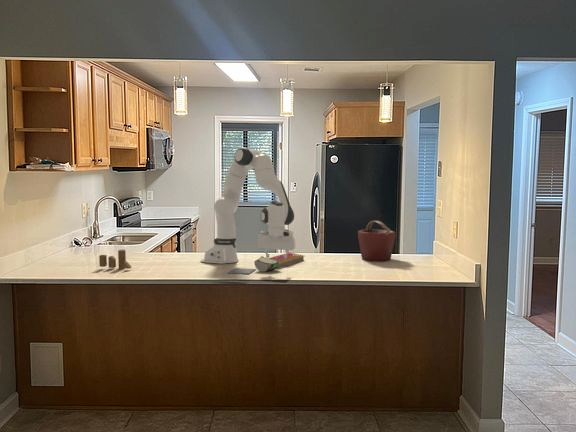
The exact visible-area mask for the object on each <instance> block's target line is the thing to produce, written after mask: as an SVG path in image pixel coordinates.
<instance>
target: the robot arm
mask: <svg viewBox="0 0 576 432" xmlns="http://www.w3.org/2000/svg"><path fill="white" fill-rule="evenodd" d="M272 161H273V160H272V159H271V156H269V155H267V154H266V153H264V152H261V151H258V150H257V149H252V148H248V147H239V148H238V149H236V151H235V153H234V159H233V161H232V162H231V164H230V166H229V168H228V171H227V173H226V174H227V175H226V177H225V180H224V183H223V189H222V196H221V197H219V198H218V199H216V201H215V202H214V205H213V210H214V211H215V212H214V213H215V220H216V230H217V231H216V238H215V239H213V243H214V244H212V245H211V246H210V247H209V248H208V249H206V250H205V251H204V252H205V253H204V257H202V258H201V259H200V263H206V264H207V263H208V264H220V265H222V264H233V263H237V262H239V259H238V253H237V245H238V243H237V242H238V241H237V236H236V235H237V234H236V233H237V230H236V227H237V226H236V220H235V215H234V213H236V212H237V210H238V207H239V204H240V199H241V194H242V190H243V187H244V185H245V184H244V183H245V181H246V178H247V174H248V172H249V171H250V170H253V172H254V177H255V182H256V184H257V185H258V186H259V187H260V188H261V189H264V190H266V191H270V192H272V193H274V194H275V195H276V196H277V199H278V201H271V202H270V203H269V205H268V206H267V207H263V209H262V210H261V211H260V221H261V222H262V223H263V224H264V225H268V227H267V228H268V230H267V231H260V232H258V234H257V248H258V249H259V250H263V252H264V253H265V255H266V256H265V258H270V253H268V250H274V251H275V250H278V251H282V250H283V251H285V253H284V254H285V255H283V258H287V254H288V253H289V251H294V250H295V249H296V240H295V237H294V231H292V230H289V229H286V226H290V225H291V224H292V223H293V221H294V220H295V212H294V209H293V208H292V206H291V204H290V201H289V198H288V195H287V192H286V189H285V186H284V184H283V182H282V181H281V180H279V179H278V177H277V176H276V173H275V169H274V164H273V162H272Z"/></svg>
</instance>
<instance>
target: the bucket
mask: <svg viewBox="0 0 576 432" xmlns="http://www.w3.org/2000/svg"><path fill="white" fill-rule="evenodd" d="M375 223H377V224H378V225H380V227H381V228H382V229H371V228H372V226H373V224H375ZM365 228H366V229H361V230H358V231H357V238H358V244H359V250H360V256H361V260H363V261H366V262H371V263H372V262H373V263H377V262H378V263H383V262H389V261H391V259H392V254H393V251H394V250H393V249H394V245H395V240H396V231H394V230H391V229H390V228H389V227H388V226H387V225H386V224H385V223H383V222H382V221H381V220H371V221H369V222H368V224H367V225H366V227H365Z"/></svg>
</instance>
